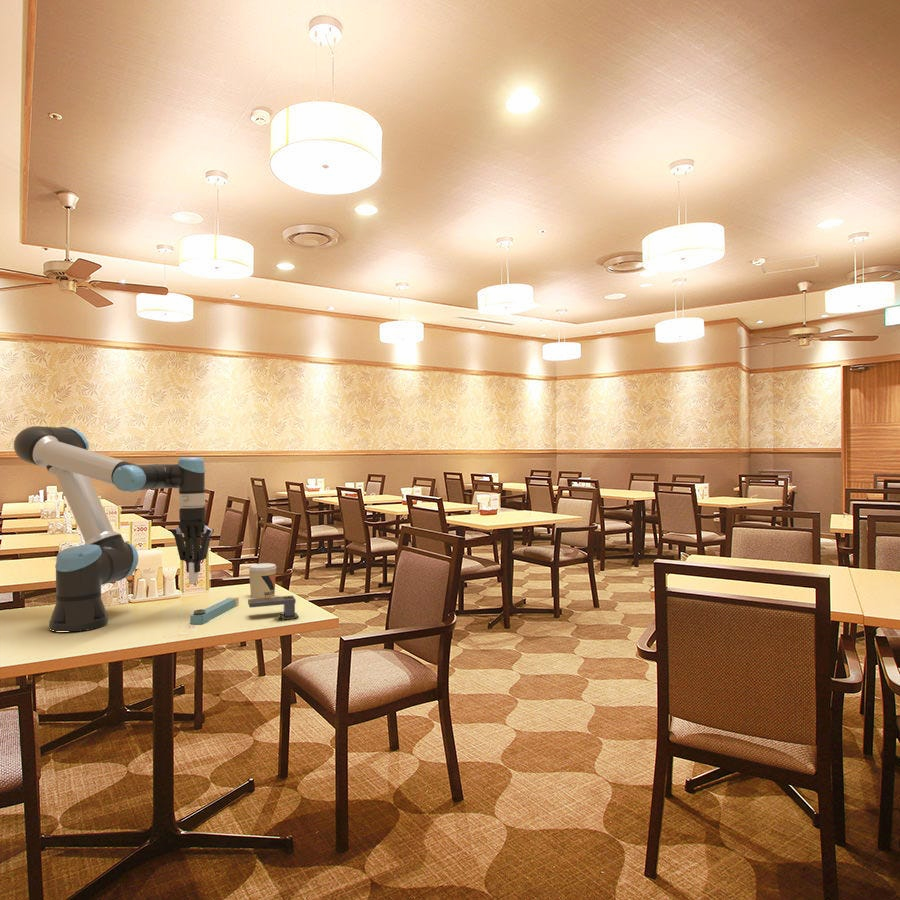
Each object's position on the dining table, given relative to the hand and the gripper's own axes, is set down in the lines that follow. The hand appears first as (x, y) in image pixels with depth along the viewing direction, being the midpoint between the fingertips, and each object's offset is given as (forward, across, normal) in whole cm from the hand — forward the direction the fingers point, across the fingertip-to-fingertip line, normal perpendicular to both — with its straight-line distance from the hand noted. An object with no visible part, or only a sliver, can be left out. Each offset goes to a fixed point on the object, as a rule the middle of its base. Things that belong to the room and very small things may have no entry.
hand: (193, 582), depth 199 cm
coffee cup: (+12, +10, +27) cm, 31 cm away
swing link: (+10, +6, +1) cm, 12 cm away
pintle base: (+11, +6, -8) cm, 16 cm away
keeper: (+12, +25, +2) cm, 28 cm away
